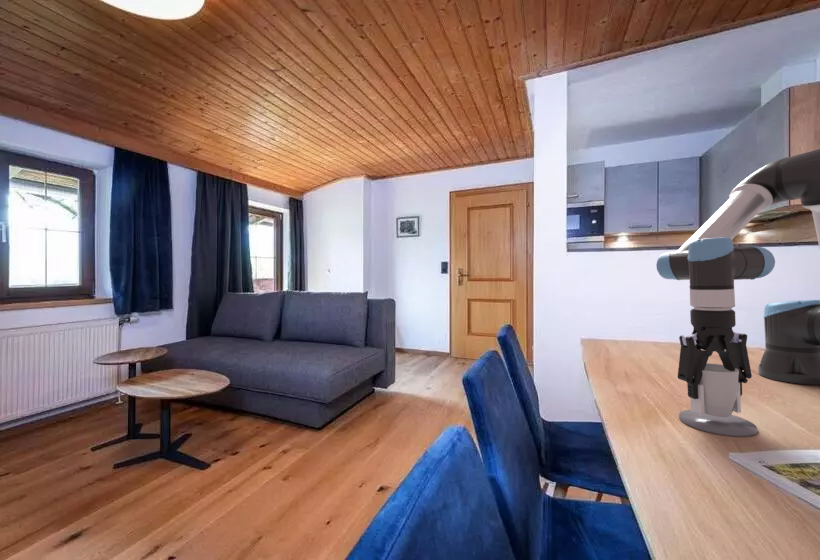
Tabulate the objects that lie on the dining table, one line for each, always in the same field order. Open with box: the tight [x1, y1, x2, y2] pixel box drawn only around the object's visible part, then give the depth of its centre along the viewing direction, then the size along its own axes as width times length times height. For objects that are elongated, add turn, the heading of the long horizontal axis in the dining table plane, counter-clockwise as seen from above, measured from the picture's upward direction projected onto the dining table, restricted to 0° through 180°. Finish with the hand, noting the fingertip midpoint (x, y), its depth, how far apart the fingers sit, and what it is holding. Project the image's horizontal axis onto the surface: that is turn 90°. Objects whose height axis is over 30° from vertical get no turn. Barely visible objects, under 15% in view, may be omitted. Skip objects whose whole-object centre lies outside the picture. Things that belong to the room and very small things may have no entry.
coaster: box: [678, 409, 758, 438], centre depth 78 cm, size 13×13×1 cm
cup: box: [693, 362, 739, 417], centre depth 78 cm, size 8×8×10 cm
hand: (715, 411), depth 78 cm, fingers closed on cup, 8 cm apart
